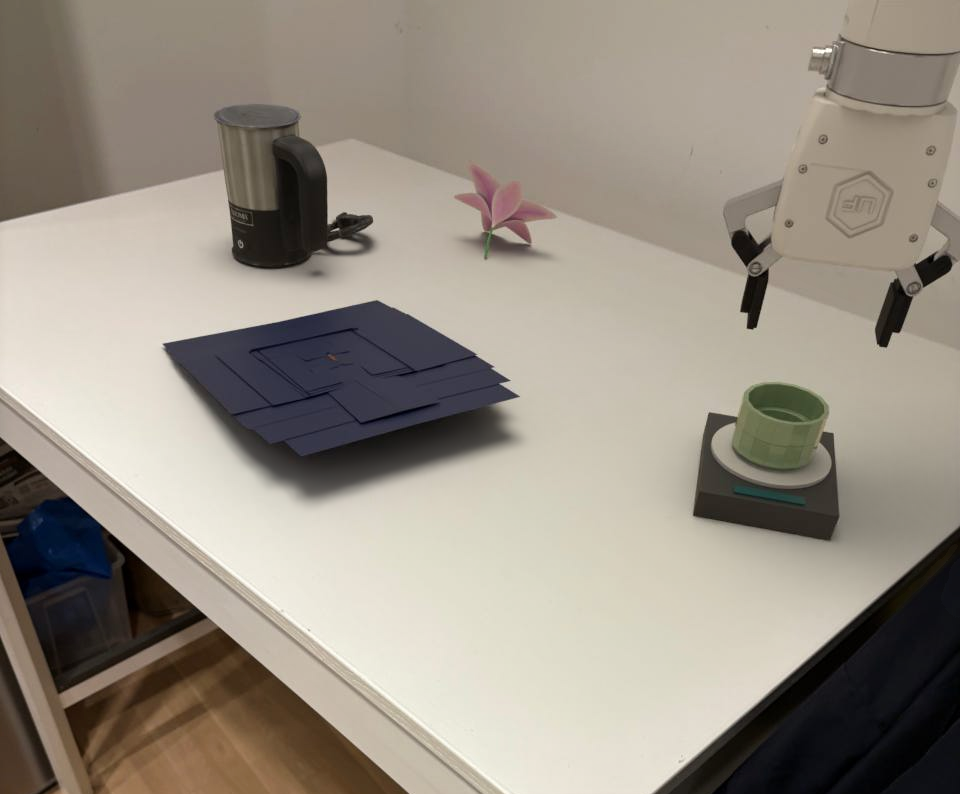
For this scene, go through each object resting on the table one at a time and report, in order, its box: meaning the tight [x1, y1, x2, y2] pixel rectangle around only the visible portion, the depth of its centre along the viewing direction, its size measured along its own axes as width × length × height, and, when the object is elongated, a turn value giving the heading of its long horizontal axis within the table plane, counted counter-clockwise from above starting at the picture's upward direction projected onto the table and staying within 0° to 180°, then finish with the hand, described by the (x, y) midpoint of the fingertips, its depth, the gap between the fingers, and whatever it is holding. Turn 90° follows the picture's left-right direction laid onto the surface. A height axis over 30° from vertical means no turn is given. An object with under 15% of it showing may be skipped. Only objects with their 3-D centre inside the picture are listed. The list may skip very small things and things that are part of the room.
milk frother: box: [212, 102, 374, 268], centre depth 106 cm, size 14×16×15 cm
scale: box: [692, 411, 840, 541], centre depth 79 cm, size 11×13×3 cm
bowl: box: [732, 381, 830, 470], centre depth 77 cm, size 7×7×5 cm
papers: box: [162, 299, 521, 457], centre depth 87 cm, size 24×30×4 cm
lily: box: [453, 160, 558, 260], centre depth 112 cm, size 12×12×10 cm
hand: (815, 330), depth 71 cm, fingers open, 9 cm apart
